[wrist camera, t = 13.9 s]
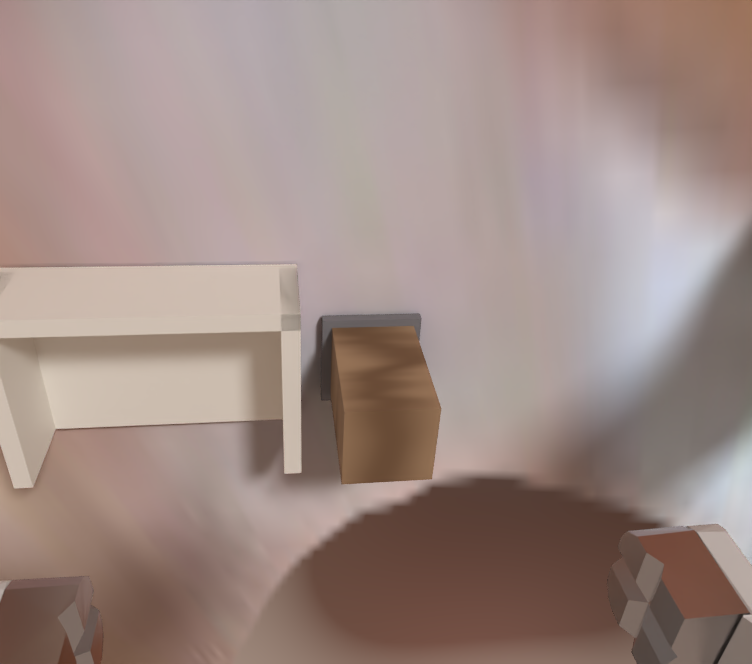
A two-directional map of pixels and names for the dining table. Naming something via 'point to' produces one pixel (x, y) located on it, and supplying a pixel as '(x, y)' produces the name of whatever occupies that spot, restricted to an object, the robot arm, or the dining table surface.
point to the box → (145, 352)
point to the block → (382, 405)
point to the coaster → (356, 321)
